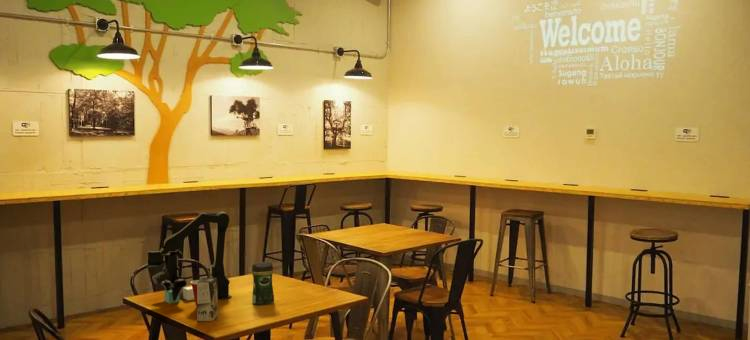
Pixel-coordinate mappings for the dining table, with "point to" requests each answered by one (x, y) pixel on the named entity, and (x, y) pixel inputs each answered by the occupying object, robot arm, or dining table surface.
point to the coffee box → (207, 299)
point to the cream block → (188, 293)
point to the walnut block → (182, 291)
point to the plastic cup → (194, 289)
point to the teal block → (170, 297)
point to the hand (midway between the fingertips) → (172, 299)
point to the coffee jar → (262, 283)
